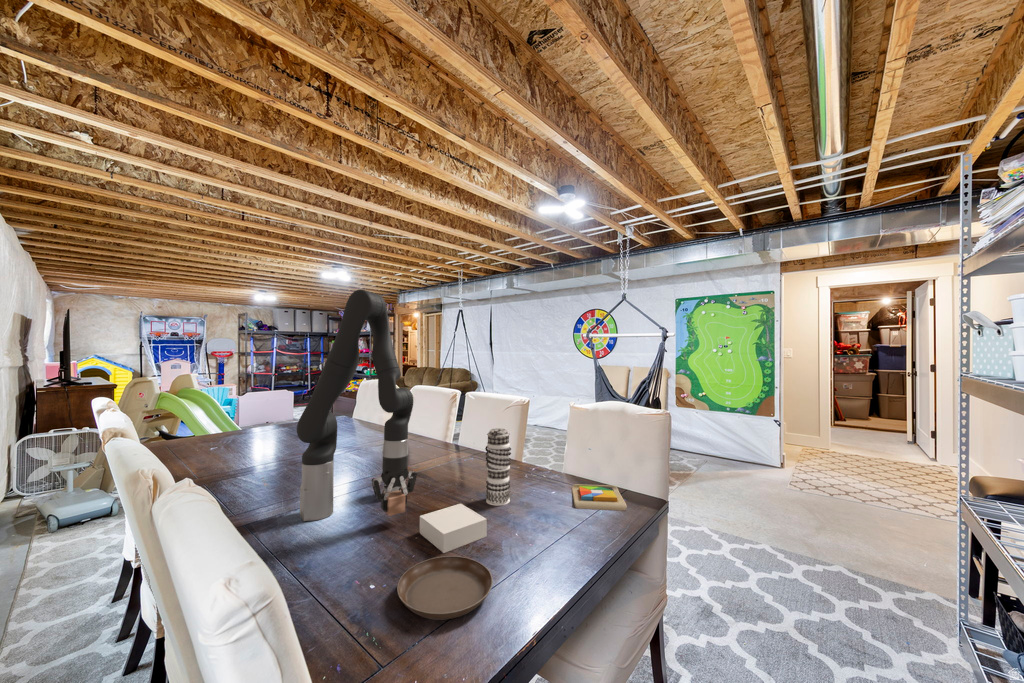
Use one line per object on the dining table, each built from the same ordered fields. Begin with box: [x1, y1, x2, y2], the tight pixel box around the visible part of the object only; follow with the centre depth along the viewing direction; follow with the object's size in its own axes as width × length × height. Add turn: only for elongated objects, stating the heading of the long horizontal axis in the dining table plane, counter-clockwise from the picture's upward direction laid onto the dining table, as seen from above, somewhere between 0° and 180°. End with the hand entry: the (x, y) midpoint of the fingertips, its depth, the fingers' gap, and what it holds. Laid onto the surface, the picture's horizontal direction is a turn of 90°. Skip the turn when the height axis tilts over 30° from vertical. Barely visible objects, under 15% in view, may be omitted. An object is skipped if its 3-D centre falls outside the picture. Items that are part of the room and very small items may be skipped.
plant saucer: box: [396, 555, 494, 621], centre depth 85 cm, size 21×21×3 cm
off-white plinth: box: [419, 502, 488, 554], centre depth 112 cm, size 14×14×5 cm
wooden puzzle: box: [571, 483, 628, 512], centre depth 139 cm, size 18×19×4 cm
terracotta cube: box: [384, 490, 406, 517], centre depth 118 cm, size 5×5×5 cm
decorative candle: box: [485, 428, 512, 507], centre depth 136 cm, size 9×9×25 cm
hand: (394, 508), depth 118 cm, fingers closed on terracotta cube, 5 cm apart
